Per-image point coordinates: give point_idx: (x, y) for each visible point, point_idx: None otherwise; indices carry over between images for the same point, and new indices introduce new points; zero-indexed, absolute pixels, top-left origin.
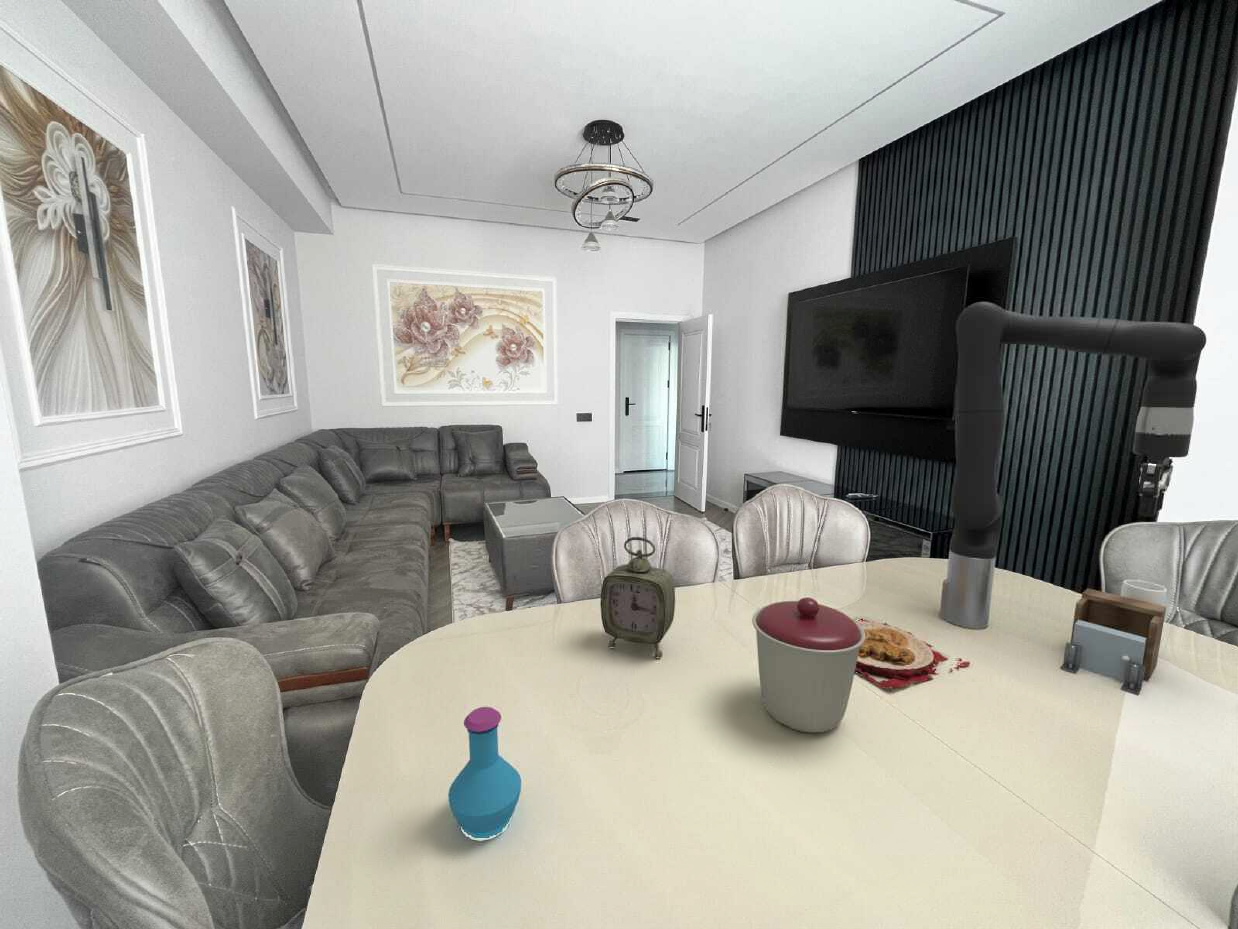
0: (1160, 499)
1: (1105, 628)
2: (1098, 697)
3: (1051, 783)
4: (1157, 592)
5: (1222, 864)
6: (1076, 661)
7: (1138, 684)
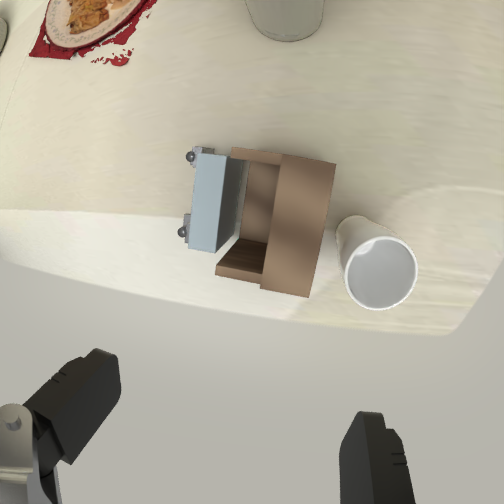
0: (343, 495)
1: (213, 197)
2: (143, 193)
3: (6, 181)
4: (348, 293)
5: (9, 260)
6: None
7: None
